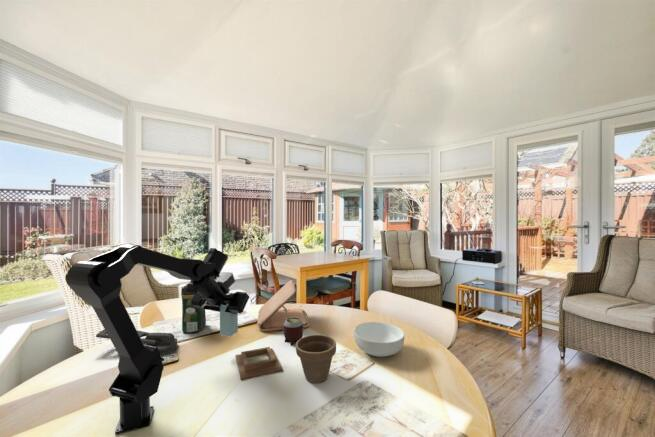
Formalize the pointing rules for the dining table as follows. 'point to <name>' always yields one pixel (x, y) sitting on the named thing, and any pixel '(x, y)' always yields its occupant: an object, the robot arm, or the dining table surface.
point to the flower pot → (316, 356)
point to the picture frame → (257, 363)
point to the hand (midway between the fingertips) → (231, 312)
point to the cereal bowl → (379, 338)
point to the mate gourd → (292, 329)
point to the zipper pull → (153, 340)
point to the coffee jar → (191, 314)
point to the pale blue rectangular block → (228, 321)
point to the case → (275, 318)
